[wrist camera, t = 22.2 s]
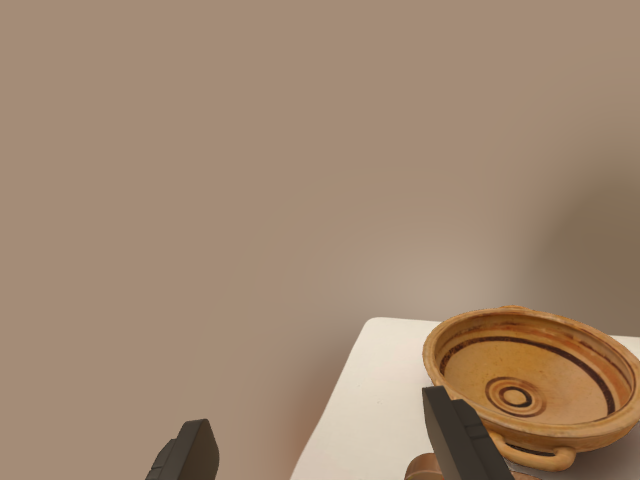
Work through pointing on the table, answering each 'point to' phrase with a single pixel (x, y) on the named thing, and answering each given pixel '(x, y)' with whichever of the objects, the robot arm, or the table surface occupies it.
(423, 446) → the table surface
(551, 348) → the ceramic bowl
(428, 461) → the tin
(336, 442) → the table surface
